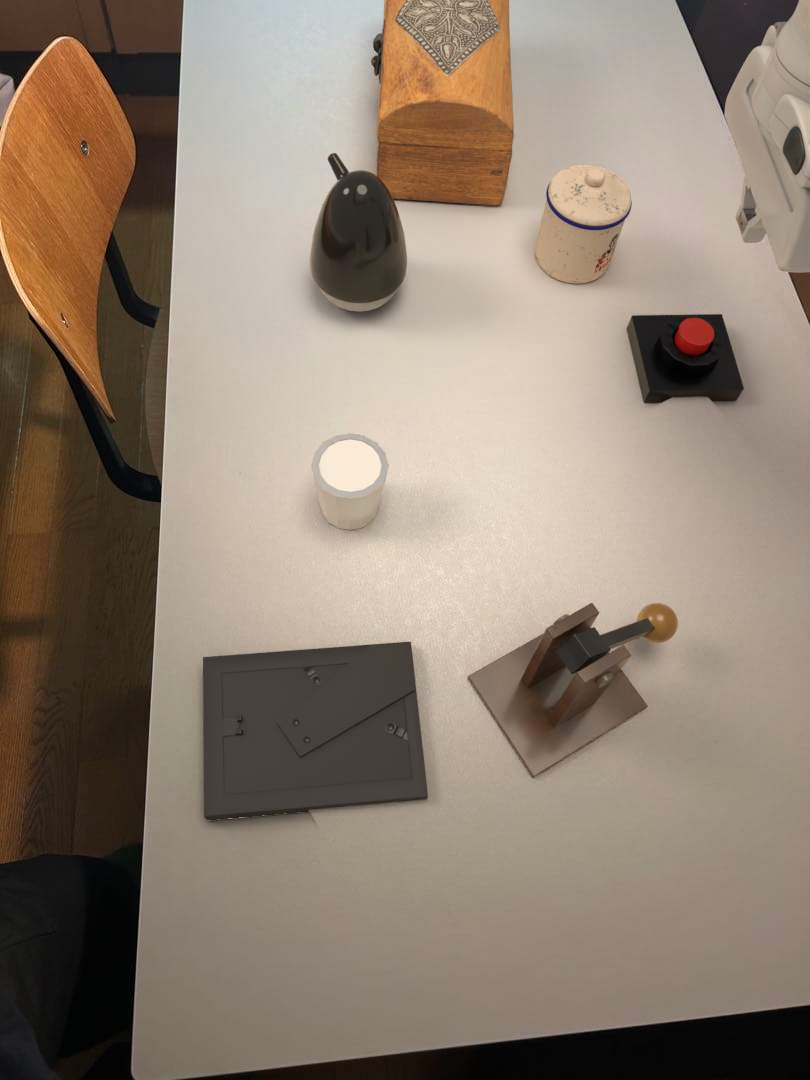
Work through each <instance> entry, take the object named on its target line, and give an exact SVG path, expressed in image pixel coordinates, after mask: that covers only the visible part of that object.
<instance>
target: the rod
mask: <svg viewBox="0 0 810 1080" xmlns="http://www.w3.org/2000/svg"><path fill="white" fill-rule="evenodd" d="M678 627H679V619H678V616H677V613H676V612H675V611H674V610H673V608H672V607H671V606H669V605H667V604H665V603H662V602H653V603H649V604H647V605H645V606H644V607H643V608H641V610H639V612H638V614H637V617H636V621H635V622H632V623H630V624H627V625H624V626H622V627H619V628H616V629H613V630H610V631H608V632H605V633H602V634H600V633H599V631H598V629H596V627H595V626H593V627H590V629H587V630H584V631H581V632H579V633H576V634H573V635H572V636H571V637H570V638H569V639H568V640H567V641H566V642H565V643H564V644H563V645H562V646H561V647H559V648H558V649H557V650H556V653H557V654H558V656H559V657H560V658H561V660H562V661H563V663H564V664H565V666H566V667H567V668H568V670H569V671H570V673H571V674H574V673H577V672H578V671H580V670H581V669H583V668H585V667H587V666H588V665H590V664H592V663H593V662H595V661H597V660H598V659H600V658H602V657H604V656H605V655H606V654H607V653H608V652H609V653H610V652H611V650H612V649H616V648H619V647H621V646H622V645H625V644H628V643H631V642H634V641H636V640H638V639H641V638H643V639H644V640H645V641H649V642H650V643H653V644H662V643H665V642H667V641H669V640H671V639H672V638H673V637H674V636H675V634H676V632H677V630H678Z"/></svg>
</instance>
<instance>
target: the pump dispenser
mask: <svg viewBox="0 0 810 1080" xmlns="http://www.w3.org/2000/svg"><path fill="white" fill-rule="evenodd" d="M327 161H328V164H329V166H330V168H331V170H332V172H333V174H334V177H335V179H336V182H335V183H334V184H333V185H332V186H331V188H330V190H329V191H328V193H327V195H326V197H325V199H324V201H323V203H322V205H321V207H320V210H319V213H318V216H317V219H316V222H315V226H314V230H313V233H312V239H311V244H310V245H311V246H310V254H309V268H310V274H311V277H312V280H313V281H314V282H315V284H316V285H317V287H318V288H319V291H320V292H321V293H322V295H323V296H324V297H325V298H326V300H328V301H329V302H330V303H332V304H333V305H334V306H336V307H339V308H340V309H342V310H346V311H350V312H368V311H372V310H375V309H378V308H380V307H381V306H384V305H385V304H386V303H387V302H388V301H390V300H391V299H392V298H393V296H395V294H396V292H397V291H398V290H399V288H400V287H401V285H402V284H403V283H404V280H405V278H406V276H407V270H408V251H407V245H406V238H405V232H404V227H403V224H402V220H401V217H400V213H399V210H398V207H397V204H396V202H395V201H396V200H395V198H393V197H392V195H391V193H390V191H389V190H388V188H387V186H386V185H385V184H384V183H383V181H382V180H381V179H380V178H379V177H378V176H377V174H375V173H374V172H371V171H369V170H362V169H355V170H352V171H351V170H350V171H349V170H348V168H347V167H346V166H345V164H344V162H343V161H342V159H341V158H340V156H339V154H337V153H336V152H332V153H330V154H329V155H328V157H327Z"/></svg>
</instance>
